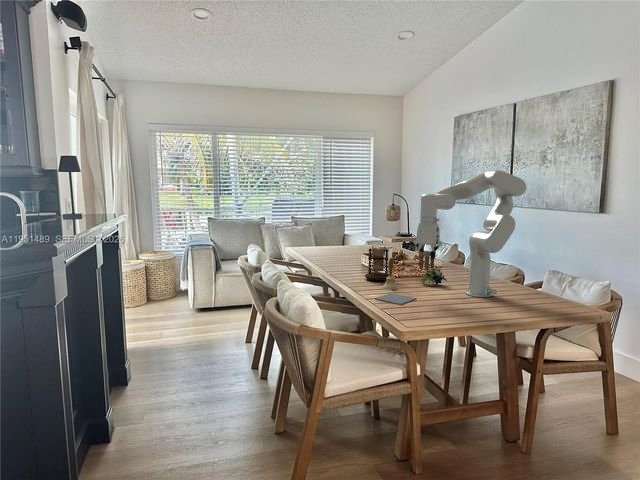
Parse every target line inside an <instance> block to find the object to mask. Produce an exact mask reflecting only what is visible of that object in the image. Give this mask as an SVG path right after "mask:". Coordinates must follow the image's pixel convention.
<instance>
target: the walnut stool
mask: <svg viewBox="0 0 640 480" xmlns="http://www.w3.org/2000/svg"><path fill="white" fill-rule="evenodd" d="M431 251H432V250H424V251H422V252H419V251H418V256H419V255H420V258H419V270H424V269H425V271H426V270H428V271H430V269H431V270H432V269H433V268H434V269H435V259H433V260H431V259H430V256H431ZM423 256H424V258H423ZM429 266H430V267H429Z"/></svg>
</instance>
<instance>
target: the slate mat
mask: <svg viewBox="0 0 640 480" xmlns="http://www.w3.org/2000/svg"><path fill="white" fill-rule="evenodd" d="M374 300H376V301H381V302H385V303H390V304H394V305H398V306H402V305H405V304H408V303H411V302H413V301H415V300H417V297H413V296H409V295H403V294H398V293H393V292H390V293H386V294H384V295H382V296H377V297H375V298H374Z"/></svg>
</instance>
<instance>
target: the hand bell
mask: <svg viewBox="0 0 640 480" xmlns="http://www.w3.org/2000/svg"><path fill="white" fill-rule="evenodd" d="M393 268H394V260H393V257H389V258H388V269H389V271H388V274H389V277H387V278H386V281H385V283H384V284H383V285H382V289H385V290H391V289H393V290H399V286H398V285H397V283H396V277H394V276H393Z"/></svg>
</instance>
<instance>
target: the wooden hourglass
mask: <svg viewBox="0 0 640 480" xmlns="http://www.w3.org/2000/svg"><path fill="white" fill-rule="evenodd" d="M389 252H390V251H389V248H386V245H384V247H383V248H379V247H374V245H372V248H369V249H368V265H367V267H368V271H367V272H368V273H365V275H364V278H365V279H368V281H369V282H371V280H374V281H385V282H386V278H387V277H389V271H388V269H389V266H388V263H389Z"/></svg>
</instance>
